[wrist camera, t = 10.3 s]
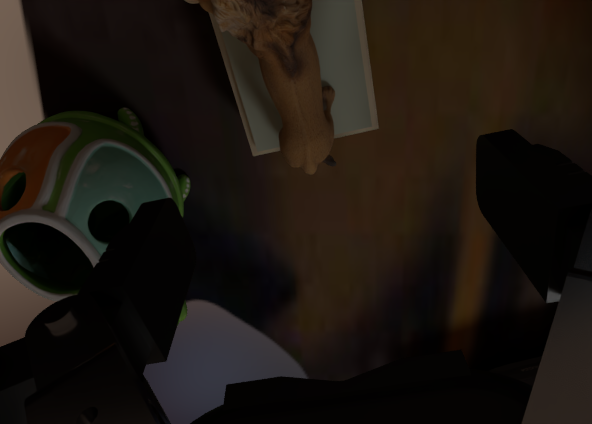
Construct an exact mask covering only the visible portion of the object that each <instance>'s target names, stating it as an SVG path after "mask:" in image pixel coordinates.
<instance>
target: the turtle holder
mask: <svg viewBox="0 0 592 424" xmlns="http://www.w3.org/2000/svg"><path fill="white" fill-rule="evenodd" d="M118 120H119V121H117V120H114V119H112V118H109V117H106V116H103V115H100V114H98V113H94V112H89V111H67V112H62V113H59V114H56V115H53V116H51V117H49V118H47V119H45V120H43V121H41V122H40V123H38V124H37V125H35V126H32V127H31V128H29V129H27V130H25V131H24V132H22V133H21V134H20V135H18V136H17V137H16V138H15V139H14V140H13V141H12V142H11V144H10V145H9V146H8V148H7V149H6V151H5V152H4V154H3V156H2V157H1V159H0V263H1V264H2V266H3V267H4V268H5V269H6V270H7V271H8V272H9V273H10V274H11V275H12V276H13V277H14V278H15V279H17V280H18V281H19V282H20V283H21V284H23V285H24V286H26V287H27V288H28V289H30V290H31V291H33V292H35V293H36V294H38V295H40V296H42V297H44V298H47V299H50V300H53V301H59V300H61V299H63V298H66V297H69V296H72V295H77V294H78V292H79V291H80V289H81V287H82V286H83V284H84V283H85V281H86V279H87V278H88V276H89V275H90V273H91V271H92V270H93V268H94V267H95V265H96V263H98V262H99V259H100V257H101V255H102V254H103V252H106V250H105V249H106V247H107V246H108V244H109V243H110V241H111V239H112V238H113V236H114V235H116V234H117V233H118V232H119V231H120V230H121V229H122V228H123V227H125V226H126V225H127V224H129V223H130V222H131V220H132V219H133V217H134V215H135V214H136V212H137V210H138V209H139V207H140V205H141V204H142V203H144V202H149V201H154V200H159V199H164V198H172V199H173V200H174V201H175V203H176V205H177V207H178V209H179V211H180V214H181V216H182V218H183V211H184V206H183V201H184V200H185V199H186V197H187V195H188V193H189V191H190V179H189V178H188V176H187V175H185V174H181V175H179V176H178V177H177V176H176V174H175V172H174V170H173V168H172V166H171V165H170V163H169V161H168V160H167V158H166V157H165V156H164V155H163V153H162V152H161V151H160V150H159V149H158V148H157V147H156V146H155V145H154V144H153V143H152V142H150V141H149V140H148V139H147V138H146V137H144V131H143V127H142V124H141V122H140V120H139V118H138V117H137V116H136V114H135V113H134V112H133V111H131V110H130V109H128V108H121V109H119V110H118ZM186 315H187V305H186V301H185V302H184V305H183V308H182V311H181V315H180V318H179V321H182V320H184V319H185V318H186ZM179 321H178V324H179ZM178 324H177V325H178Z"/></svg>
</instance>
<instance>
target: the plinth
mask: <svg viewBox="0 0 592 424" xmlns="http://www.w3.org/2000/svg"><path fill="white" fill-rule="evenodd" d="M209 15H210V19H211V22H212V25H213V28H214V31H215V35H216V38H217V41H218V44H219V47H220V51H221V54H222V57H223V60H224V64H225V67H226V70H227V73H228V76H229V80H230V83H231V86H232V89H233V93H234V96H235V99H236V102H237V105H238V109H239V112H240V115H241V118H242V121H243V125H244V128H245V131H246V134H247V138H248V141H249V144H250V147H251V150H252V154H253V156H257V155H261V154H266V153H270V152H275V151H279V150H280V146H279V137H278V136H279V132H280V130H281V129H282V127H283V124H282V119H281V116H280V114H279V112H278V110H277V108H276V106H275V105H274V103H273V100H272V98H271V96H270V94H269V92H268V90H267V88H266V85H265V83H264V80H263V77H262V73H261V69H260V65H259V59H258V57H257V56H255V55H254V54H253V53H252V52H251V51H250V49H249V48H248V46H247V45H246V44H245V43H243V42H241V41H240V40H238V39H237V37H233V36H231V35H230V33H229V32H228V31H224V32H221V31H220V29H219V27H218V24H217V21H216V20H215V18H214V16H213V14H212V13H210V12H209ZM310 16H311V28H310V34H311V36H312V38H313V41H314V43H315V46H316V50H317V54H318V58H319V64H320V75H321V86H322V87H324V86H331V87H332V88H333V89H334V90H335V98H334V101H333V104H332V106H331V115H332V118H333V123H334V138H338V137H343V136H347V135H352V134H356V133H361V132H365V131H370V130H374V129H379V127H378V120H377V112H376V105H375V97H374V90H373V82H372V75H371V67H370V60H369V52H368V45H367V37H366V30H365V22H364V15H363V7H362V0H312V11H311V15H310Z"/></svg>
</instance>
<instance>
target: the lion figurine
mask: <svg viewBox="0 0 592 424" xmlns="http://www.w3.org/2000/svg"><path fill="white" fill-rule="evenodd" d="M184 1H186V2H188V3H191V4H196V3H200V5H201V7H202V8H203V9H204V10H206V11H208V12H210V13H212V14H213V16H214V18H215V20H216V21H217V24H218V27H219V29H220V31H221V32H224V31H228V32H229V33H230V35H231V36H233V37H237V39H238V40H240V41H241V42H243V43H245V44H246V45H247V46H248V48H249V49H250V51H251V52H252V53H253V54H254V55H255V56H257V57H258V59H259V65H260V69H261V73H262V77H263V80H264V83H265V85H266V88H267V90H268V92H269V94H270V96H271V98H272V100H273V103H274V105H275V106H276V108H277V110H278V112H279V114H280V116H281V119H282V124H283V127H282V129H281V130H280V132H279V136H278V137H279V146H280V150H281V153H282V155H283V156H284V158H285V160H286V161H287V162H288V163H289V165H290V166H292V167H302V168H303V169H304V171H305V172H306V173H307V174H310V175H312V174H314V173H315V172H316V170H317V165H318V163H321V162H324V163H326V164H328V165H330V166H335V165H336V162H335V161H334V160H333V158H332V157H331V156H330V155H329V153H330V150H331V148H332V145H333V141H334V123H333V118H332V115H331V106H332V104H333V101H334V98H335V90H334V89H333V88H332V87H331V86H324V87H322V86H321V75H320V64H319V58H318V54H317V50H316V46H315V43H314V41H313V38H312V36H311V34H310V28H311V16H310V15H311V11H312V0H184Z"/></svg>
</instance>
